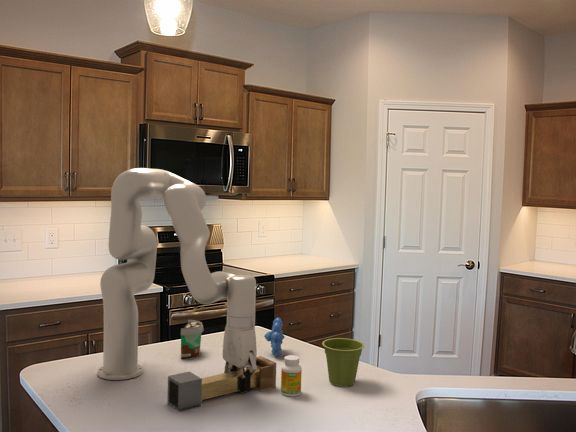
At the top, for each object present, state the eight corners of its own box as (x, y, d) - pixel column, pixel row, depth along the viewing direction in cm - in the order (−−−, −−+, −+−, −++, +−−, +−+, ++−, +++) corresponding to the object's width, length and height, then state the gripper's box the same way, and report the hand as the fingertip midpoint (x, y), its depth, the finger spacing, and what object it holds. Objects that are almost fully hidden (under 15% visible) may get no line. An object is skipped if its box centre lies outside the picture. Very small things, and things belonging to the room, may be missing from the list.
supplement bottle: (286, 398, 148) (287, 361, 147) (277, 391, 152) (278, 355, 152) (304, 395, 150) (305, 359, 150) (295, 388, 155) (295, 353, 154)
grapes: (265, 348, 191) (266, 313, 191) (285, 349, 191) (286, 314, 190) (261, 359, 180) (262, 322, 179) (282, 360, 179) (283, 323, 179)
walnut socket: (245, 383, 157) (246, 359, 157) (260, 380, 160) (260, 356, 160) (260, 391, 152) (261, 366, 151) (275, 387, 155) (276, 362, 154)
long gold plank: (182, 398, 143) (182, 381, 143) (259, 379, 158) (259, 364, 158) (190, 403, 140) (190, 386, 140) (268, 384, 155) (268, 369, 155)
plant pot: (312, 382, 160) (313, 343, 159) (338, 373, 169) (339, 335, 168) (346, 393, 152) (347, 352, 151) (371, 383, 161) (372, 344, 160)
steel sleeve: (167, 403, 142) (167, 375, 142) (188, 398, 146) (189, 371, 145) (179, 411, 137) (180, 383, 137) (201, 406, 141) (201, 378, 140)
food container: (199, 361, 176) (200, 329, 176) (180, 360, 176) (180, 328, 176) (206, 349, 189) (206, 320, 188) (187, 349, 189) (188, 319, 188)
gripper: (212, 316, 155) (211, 382, 156) (247, 330, 142) (245, 401, 143) (235, 313, 160) (234, 377, 161) (271, 326, 146) (269, 395, 148)
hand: (239, 387), depth 152 cm, fingers open, 4 cm apart
